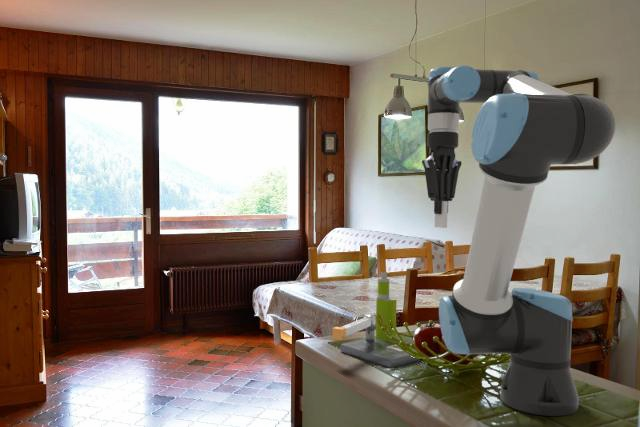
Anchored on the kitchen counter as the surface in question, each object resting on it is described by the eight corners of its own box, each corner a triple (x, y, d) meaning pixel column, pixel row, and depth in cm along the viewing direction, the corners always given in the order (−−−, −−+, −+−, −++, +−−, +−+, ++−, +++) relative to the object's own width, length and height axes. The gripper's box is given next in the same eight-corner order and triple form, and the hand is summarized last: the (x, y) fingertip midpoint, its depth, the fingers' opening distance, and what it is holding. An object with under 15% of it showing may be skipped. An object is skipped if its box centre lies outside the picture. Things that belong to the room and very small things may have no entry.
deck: (422, 359, 151) (422, 339, 151) (390, 367, 144) (390, 346, 143) (372, 344, 165) (372, 325, 165) (340, 351, 157) (340, 332, 157)
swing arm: (342, 343, 145) (342, 329, 145) (331, 341, 147) (331, 327, 147) (377, 327, 162) (378, 314, 162) (367, 325, 164) (367, 313, 163)
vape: (380, 339, 171) (382, 270, 170) (397, 342, 167) (399, 273, 166) (373, 341, 168) (374, 272, 167) (390, 345, 164) (391, 274, 163)
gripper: (446, 134, 152) (444, 225, 153) (413, 131, 144) (411, 227, 145) (471, 132, 146) (469, 227, 147) (438, 129, 138) (436, 229, 139)
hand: (440, 227), depth 146 cm, fingers closed
